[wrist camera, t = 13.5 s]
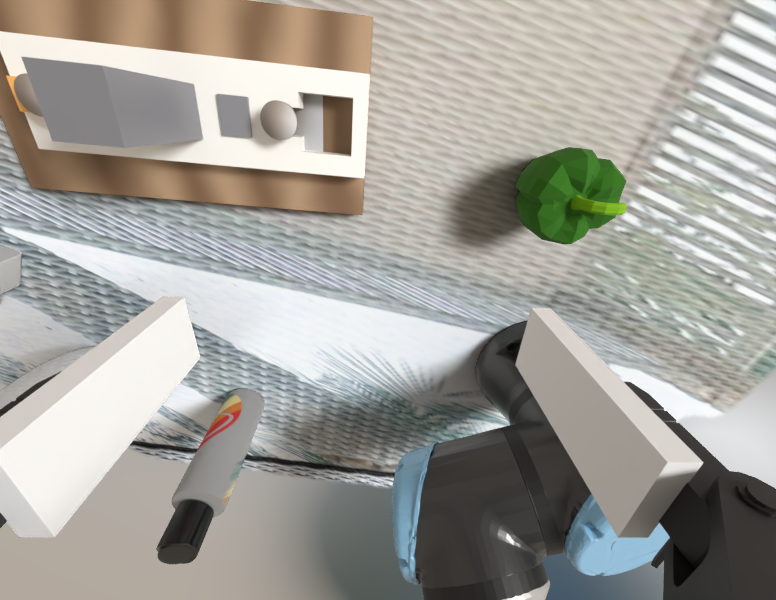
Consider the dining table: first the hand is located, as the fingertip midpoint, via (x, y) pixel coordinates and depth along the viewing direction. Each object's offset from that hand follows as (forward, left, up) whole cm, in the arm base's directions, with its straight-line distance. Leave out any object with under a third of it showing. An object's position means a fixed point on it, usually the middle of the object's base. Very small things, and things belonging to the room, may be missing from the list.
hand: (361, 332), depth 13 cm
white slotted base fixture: (+7, +15, -23) cm, 28 cm away
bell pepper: (+3, -18, -26) cm, 32 cm away
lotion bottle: (-31, +17, -26) cm, 44 cm away
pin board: (+7, +17, -25) cm, 31 cm away
